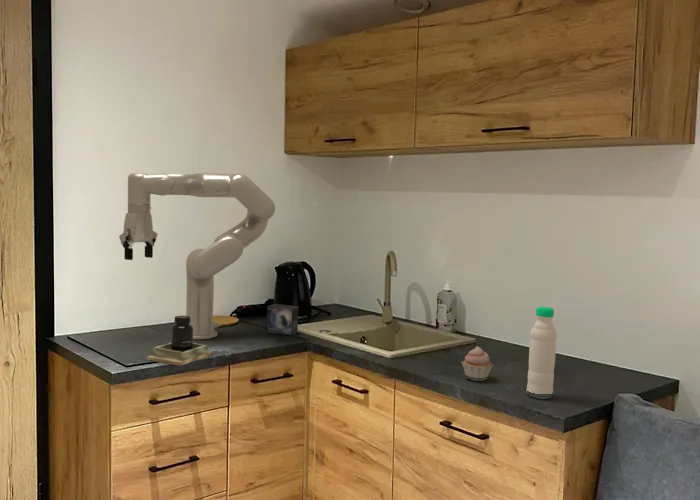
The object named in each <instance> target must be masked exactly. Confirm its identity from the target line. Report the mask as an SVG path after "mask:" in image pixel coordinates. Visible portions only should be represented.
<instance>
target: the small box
mask: <svg viewBox="0 0 700 500" xmlns="http://www.w3.org/2000/svg"><path fill="white" fill-rule="evenodd" d="M298 324H299V305H290V304H288V305H287V304H282V303H281V304H279V303H272V304H270V305H268V306H266V334H269V333H271V334H270V335H277V334H281V335H280V336H285V335H290V336H289V337H292V335H293V336H295V335H296V334H295V333H297V332H298V331H299V330H298V328H299V325H298ZM294 334H295V335H294ZM297 334H298V333H297Z"/></svg>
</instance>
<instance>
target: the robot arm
mask: <svg viewBox="0 0 700 500" xmlns="http://www.w3.org/2000/svg"><path fill="white" fill-rule="evenodd" d="M151 195H155V196H156V195H157V196H161V197H162V196H192V197H198V198H235V199H236V200H237V201H238V202H239V203H240V204H241V205H242V206H243V207H244V208H246V209H247V213H246V216H245V218H244V219H243V220H242V221H241V222H239V223H238V224H236V225H235V226H233V227H232V228H230V229H228V230H227V231H225V232H224V233H221V234H220V235H218V236H217V237H216V238H215V239H214V242H213V243H212V244H210V245H209V246H208V247H206V248H196V249H194V250H192V251H191V252H189V254H188V256H187V258H186V261H185V262H186V263H185V269H186V270H185V271H186V310H185V311H186V314H185V316H190V323H189V324H190V325H191V326H192V327H193V340H209V339H213V338H217V336H218V332H217V331H216V330H215V328H219V327H220V326H221V323H220V321H214V295H215V294H214V291H215V288H214V287H215V282H214V281H215V280H214V279H215V277H214V276H215V275H217V274H219V273H220V272H222V271H223V270H225V269H226V268H228V267H229V266H231V265H232V264H234V263H235V262H236V261H238V260H239V259H240V258H241V257H242V255H243V252H244V249H246V248H247V247H248V246H250V245H251V244H252V243H254V242H255V241H257V240H258V239H259V238H260V237H261V236H262V235H263V234H264V232H265V230H266V228H267V226H268V223H269V219H272V217H273V216H274V214H275V213H276V205H275V202H274V201H273V199H272V198H271V197H270V196H268V194H266V192H264V191H263V190H262V189H261V188H260V187H259V186H258V185H257V184H256V183H255V182H254V181H253V180H252V179H251V178H250V177H249V176H247V175H245V174H241V173H213V172H211V173H210V172H209V173H208V172H207V173H206V172H201V173H200V172H199V173H197V172H196V173H191V174H190V173H189V174H186V173H185V174H182V173H181V174H176V173H174V174H173V173H171V174H170V173H157V174H147V173H130V174H129V175H128V176H127V213H125V217H124V222H123V232H122V233H121V234H120V235H119V236H118V238H119V241H120V244H121V245H122V248H123V249H124V260H126V261H127V260H128V261H132V260H133V258H134V249H133V248H132V247H133V245H135V243H144V244H145V246H144V257H145V258H152V259H153V257H154V253H153V251H154V249H153V248H154V246H155V243H156V241H157V237H158V233H157V232H156V231H155V230H153V229H154V227H153V226H154V225H153V217H152V213H151V209H152V205H151Z"/></svg>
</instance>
